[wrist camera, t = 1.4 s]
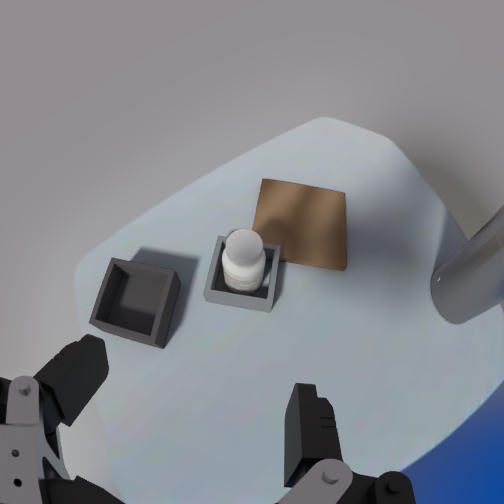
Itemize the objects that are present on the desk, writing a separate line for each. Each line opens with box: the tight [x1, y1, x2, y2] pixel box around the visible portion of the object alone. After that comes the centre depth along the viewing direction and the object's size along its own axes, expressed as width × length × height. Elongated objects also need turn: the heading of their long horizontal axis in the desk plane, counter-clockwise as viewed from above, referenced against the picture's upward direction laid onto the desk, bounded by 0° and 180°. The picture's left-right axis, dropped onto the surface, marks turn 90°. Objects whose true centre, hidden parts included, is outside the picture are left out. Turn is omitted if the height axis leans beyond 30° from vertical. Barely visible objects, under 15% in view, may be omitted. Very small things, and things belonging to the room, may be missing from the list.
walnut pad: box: [252, 178, 347, 271], centre depth 36 cm, size 12×12×1 cm
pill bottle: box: [222, 229, 266, 295], centre depth 29 cm, size 4×4×8 cm
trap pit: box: [89, 258, 181, 349], centre depth 28 cm, size 8×8×4 cm
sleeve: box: [203, 236, 281, 312], centre depth 31 cm, size 7×7×2 cm
